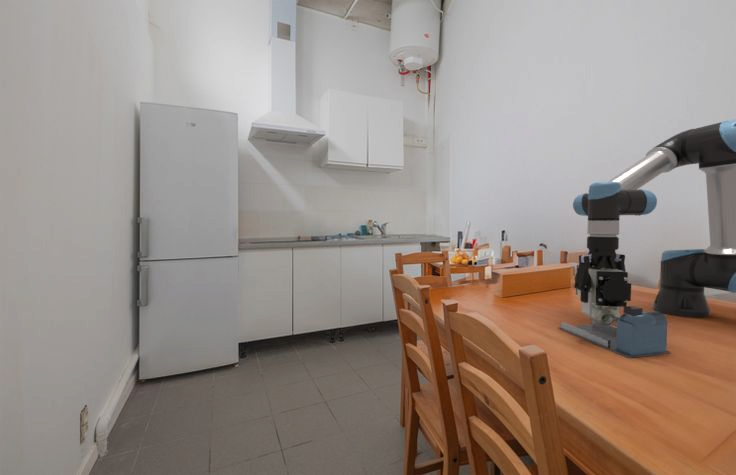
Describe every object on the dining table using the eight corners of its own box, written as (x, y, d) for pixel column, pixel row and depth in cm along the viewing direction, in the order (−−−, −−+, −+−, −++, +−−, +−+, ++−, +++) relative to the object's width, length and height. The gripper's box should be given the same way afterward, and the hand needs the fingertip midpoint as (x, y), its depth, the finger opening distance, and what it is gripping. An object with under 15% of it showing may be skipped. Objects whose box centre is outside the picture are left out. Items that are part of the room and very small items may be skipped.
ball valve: (636, 333, 87) (638, 267, 86) (600, 331, 89) (602, 266, 88) (601, 314, 105) (603, 259, 104) (572, 313, 107) (574, 258, 106)
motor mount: (592, 325, 107) (593, 288, 106) (670, 353, 84) (672, 307, 84) (558, 328, 104) (558, 291, 104) (628, 358, 82) (630, 310, 81)
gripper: (621, 234, 101) (618, 306, 102) (560, 235, 97) (558, 311, 98) (646, 235, 94) (643, 313, 95) (581, 237, 90) (579, 318, 91)
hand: (600, 312), depth 97 cm, fingers closed on ball valve, 9 cm apart
